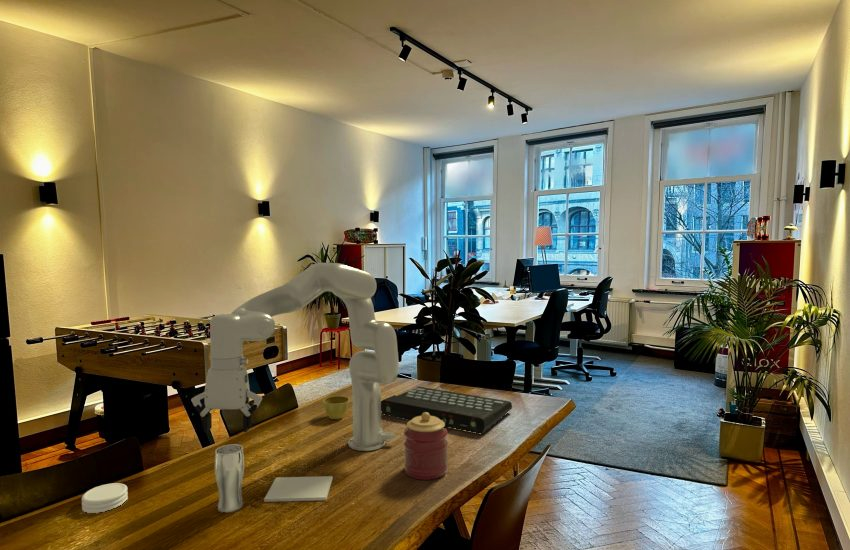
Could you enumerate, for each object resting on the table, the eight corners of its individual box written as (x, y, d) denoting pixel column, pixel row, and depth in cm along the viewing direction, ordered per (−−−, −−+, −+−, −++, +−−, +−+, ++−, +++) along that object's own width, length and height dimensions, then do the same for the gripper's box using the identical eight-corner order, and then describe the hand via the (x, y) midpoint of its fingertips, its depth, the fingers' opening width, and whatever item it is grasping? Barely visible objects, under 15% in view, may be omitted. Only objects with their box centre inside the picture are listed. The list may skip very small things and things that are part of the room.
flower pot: (353, 418, 191) (353, 400, 190) (329, 424, 185) (329, 405, 185) (342, 411, 199) (342, 394, 199) (319, 416, 193) (319, 398, 193)
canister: (452, 479, 140) (452, 418, 139) (407, 482, 138) (406, 421, 137) (442, 460, 153) (442, 404, 152) (401, 463, 151) (401, 406, 150)
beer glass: (234, 515, 121) (233, 455, 121) (209, 512, 123) (208, 453, 122) (250, 501, 128) (249, 444, 127) (226, 498, 130) (225, 442, 129)
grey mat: (332, 478, 140) (332, 476, 140) (326, 500, 128) (326, 497, 128) (276, 480, 140) (276, 477, 140) (264, 501, 128) (264, 498, 128)
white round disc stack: (77, 518, 120) (76, 504, 120) (87, 499, 130) (86, 486, 129) (124, 509, 124) (124, 496, 124) (130, 492, 134) (130, 479, 133)
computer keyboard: (511, 414, 197) (512, 398, 197) (484, 437, 173) (484, 418, 173) (416, 397, 220) (416, 382, 219) (380, 415, 196) (380, 399, 195)
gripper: (265, 360, 128) (265, 425, 128) (198, 360, 127) (198, 425, 127) (257, 366, 120) (257, 435, 121) (185, 366, 119) (185, 436, 120)
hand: (227, 430), depth 124 cm, fingers open, 9 cm apart
